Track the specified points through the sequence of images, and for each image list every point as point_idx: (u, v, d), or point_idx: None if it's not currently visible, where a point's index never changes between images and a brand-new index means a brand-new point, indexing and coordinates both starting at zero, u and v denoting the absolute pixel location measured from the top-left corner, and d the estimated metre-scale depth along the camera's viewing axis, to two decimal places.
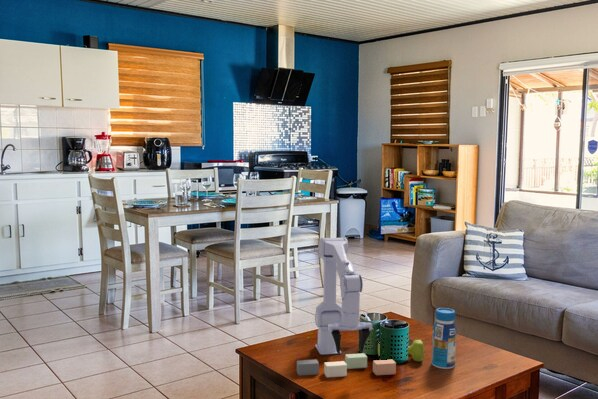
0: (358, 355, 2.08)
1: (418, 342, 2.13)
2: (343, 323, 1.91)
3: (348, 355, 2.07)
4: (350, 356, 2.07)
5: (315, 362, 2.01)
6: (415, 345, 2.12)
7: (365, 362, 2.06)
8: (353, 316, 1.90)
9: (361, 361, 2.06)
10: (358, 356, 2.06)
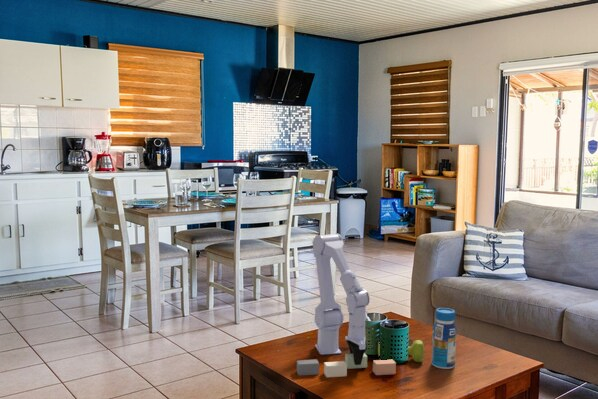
0: None
1: (418, 342, 2.12)
2: None
3: (348, 355, 2.07)
4: (350, 356, 2.06)
5: (315, 362, 2.01)
6: (415, 345, 2.12)
7: (365, 362, 2.06)
8: (349, 327, 2.06)
9: None
10: None
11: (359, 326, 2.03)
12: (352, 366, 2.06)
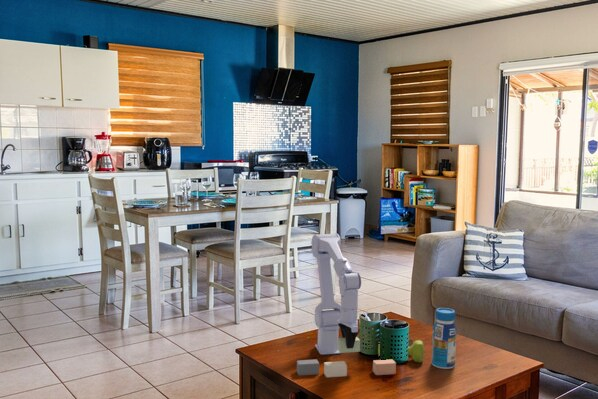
0: None
1: (418, 343, 2.12)
2: None
3: (340, 339, 2.03)
4: (343, 339, 2.02)
5: (315, 362, 2.01)
6: (415, 346, 2.11)
7: (358, 345, 2.03)
8: (341, 310, 2.02)
9: (354, 344, 2.02)
10: None
11: (349, 309, 1.99)
12: (345, 350, 2.02)
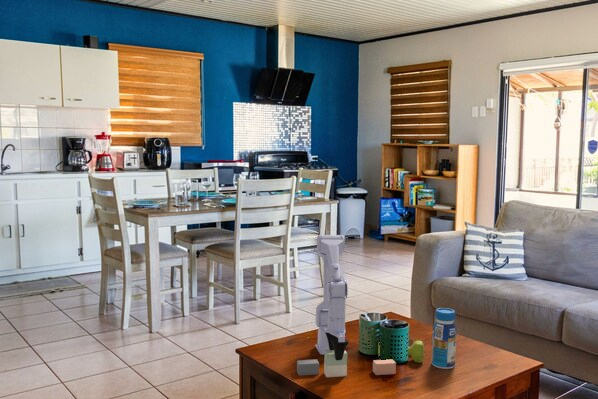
0: None
1: (418, 343, 2.12)
2: None
3: (327, 351, 1.99)
4: (329, 352, 1.99)
5: (315, 362, 2.01)
6: (415, 346, 2.11)
7: (345, 359, 1.98)
8: (328, 319, 1.97)
9: None
10: None
11: (334, 318, 1.95)
12: (331, 363, 1.98)
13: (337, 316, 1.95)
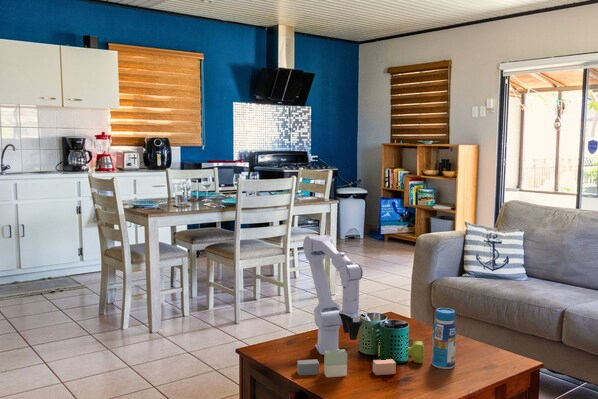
0: (337, 351, 2.00)
1: (418, 343, 2.11)
2: None
3: (327, 351, 1.99)
4: (329, 352, 1.99)
5: (315, 362, 2.01)
6: (415, 346, 2.11)
7: (345, 359, 1.99)
8: (343, 301, 2.06)
9: (341, 357, 1.98)
10: (337, 353, 1.98)
11: (352, 299, 2.04)
12: (331, 363, 1.98)
13: (354, 297, 2.04)
